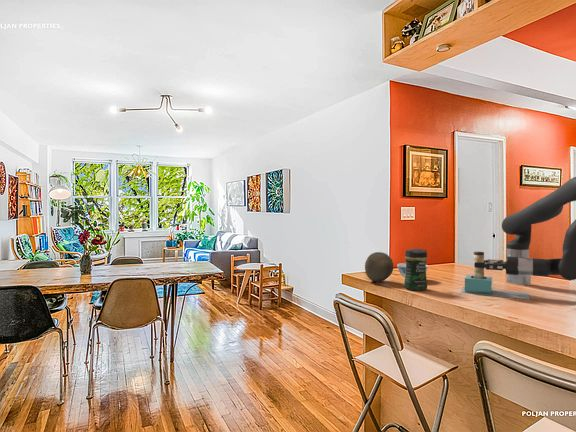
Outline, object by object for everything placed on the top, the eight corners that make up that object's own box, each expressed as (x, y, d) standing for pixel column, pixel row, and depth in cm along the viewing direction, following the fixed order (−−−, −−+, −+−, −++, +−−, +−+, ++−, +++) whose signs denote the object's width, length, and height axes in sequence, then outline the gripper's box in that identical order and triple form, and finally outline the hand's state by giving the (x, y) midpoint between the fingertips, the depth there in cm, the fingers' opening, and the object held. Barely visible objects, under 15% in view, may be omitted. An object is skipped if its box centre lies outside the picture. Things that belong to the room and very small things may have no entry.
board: (528, 295, 157) (528, 292, 157) (530, 302, 146) (530, 299, 146) (463, 289, 170) (463, 287, 170) (460, 295, 158) (460, 292, 158)
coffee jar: (411, 291, 166) (411, 250, 165) (401, 288, 173) (401, 248, 173) (430, 290, 168) (430, 249, 168) (420, 286, 176) (420, 247, 175)
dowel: (479, 287, 163) (479, 251, 163) (486, 289, 159) (486, 252, 159) (471, 288, 162) (471, 251, 162) (478, 290, 158) (478, 252, 158)
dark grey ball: (363, 283, 183) (363, 253, 183) (366, 278, 197) (366, 250, 197) (393, 285, 179) (393, 254, 179) (393, 280, 193) (393, 251, 192)
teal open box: (492, 290, 162) (492, 276, 162) (491, 294, 154) (491, 280, 154) (466, 287, 167) (466, 274, 167) (464, 292, 159) (464, 278, 159)
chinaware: (402, 276, 203) (402, 262, 203) (431, 279, 194) (431, 264, 194) (393, 280, 191) (393, 265, 191) (422, 283, 182) (422, 268, 182)
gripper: (518, 255, 159) (476, 253, 167) (519, 259, 147) (473, 256, 155) (518, 272, 159) (476, 269, 167) (519, 278, 147) (473, 274, 155)
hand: (475, 263), depth 161 cm, fingers open, 8 cm apart
